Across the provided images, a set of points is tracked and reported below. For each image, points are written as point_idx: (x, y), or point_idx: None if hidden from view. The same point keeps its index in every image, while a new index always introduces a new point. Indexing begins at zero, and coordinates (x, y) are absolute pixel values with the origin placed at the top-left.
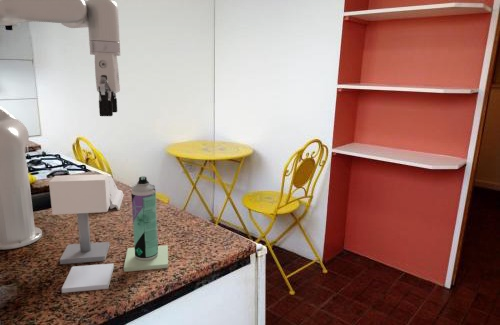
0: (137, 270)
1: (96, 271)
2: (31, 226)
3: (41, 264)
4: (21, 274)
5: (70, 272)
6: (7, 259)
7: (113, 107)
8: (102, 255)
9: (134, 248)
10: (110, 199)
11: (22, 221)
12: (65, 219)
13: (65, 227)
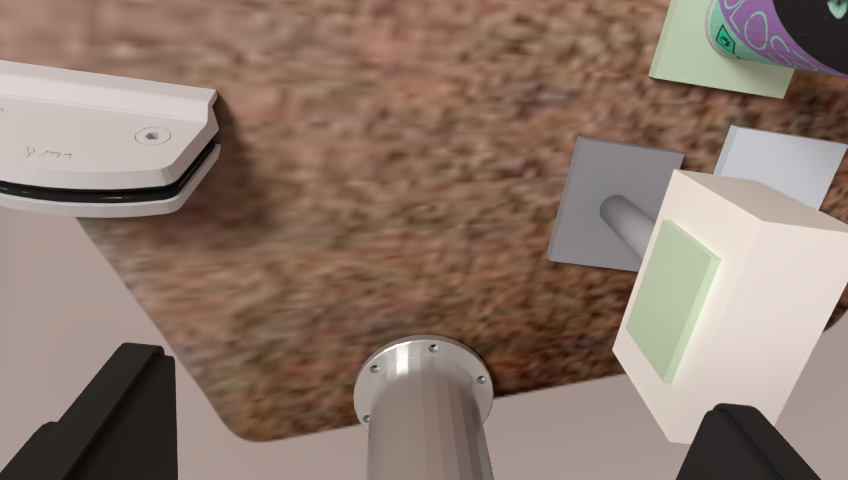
0: None
1: (761, 175)
2: (447, 377)
3: (615, 307)
4: None
5: None
6: (548, 383)
7: (139, 449)
8: (676, 160)
9: (669, 54)
10: (196, 136)
11: (473, 411)
12: (287, 284)
13: (366, 277)
